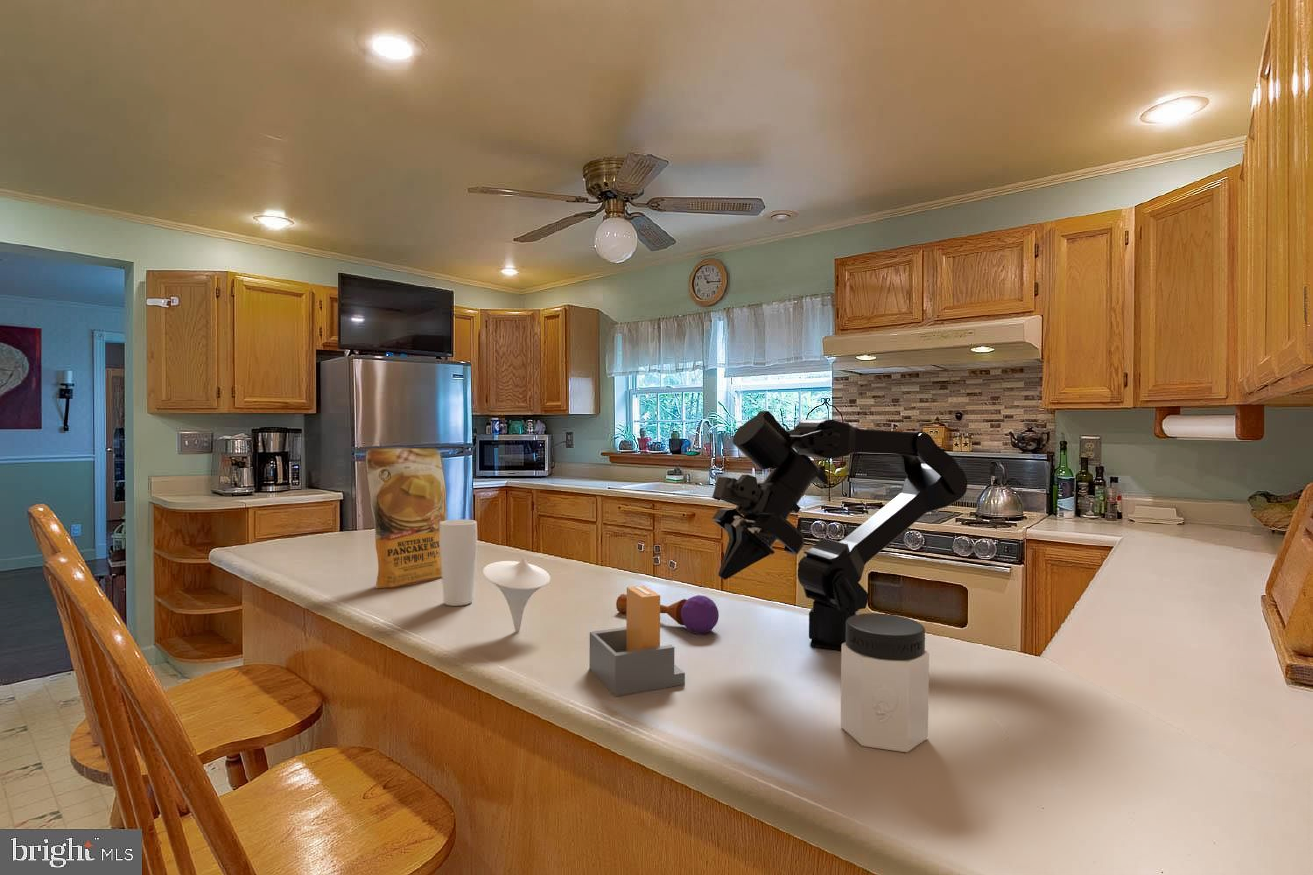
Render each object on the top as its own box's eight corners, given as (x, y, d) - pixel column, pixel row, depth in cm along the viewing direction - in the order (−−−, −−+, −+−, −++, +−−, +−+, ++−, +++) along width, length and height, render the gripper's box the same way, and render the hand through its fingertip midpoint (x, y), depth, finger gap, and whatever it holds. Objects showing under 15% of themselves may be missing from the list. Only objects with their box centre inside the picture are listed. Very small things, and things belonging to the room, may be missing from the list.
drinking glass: (485, 601, 123) (485, 521, 123) (456, 610, 117) (456, 525, 117) (460, 596, 127) (460, 518, 126) (431, 604, 121) (430, 522, 120)
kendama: (635, 586, 120) (726, 597, 107) (632, 620, 119) (724, 635, 106) (612, 586, 116) (704, 597, 103) (609, 621, 115) (702, 637, 102)
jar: (839, 744, 69) (840, 630, 69) (841, 712, 77) (842, 609, 77) (931, 758, 67) (933, 639, 66) (924, 723, 74) (926, 616, 74)
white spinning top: (564, 628, 107) (564, 555, 107) (513, 647, 98) (513, 566, 98) (520, 617, 113) (520, 547, 113) (468, 633, 104) (468, 557, 104)
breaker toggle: (643, 654, 91) (643, 584, 91) (659, 667, 86) (660, 594, 86) (626, 656, 90) (626, 586, 90) (642, 670, 85) (642, 596, 85)
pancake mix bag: (357, 587, 133) (356, 448, 132) (440, 570, 148) (440, 445, 147) (374, 592, 129) (373, 449, 128) (458, 575, 144) (458, 446, 143)
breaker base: (653, 658, 94) (653, 623, 94) (684, 684, 85) (685, 645, 85) (589, 668, 90) (589, 631, 90) (615, 696, 81) (615, 655, 81)
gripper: (717, 456, 104) (658, 537, 100) (773, 452, 86) (703, 549, 82) (768, 500, 106) (712, 580, 102) (832, 505, 88) (767, 602, 84)
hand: (721, 577), depth 93 cm, fingers closed
